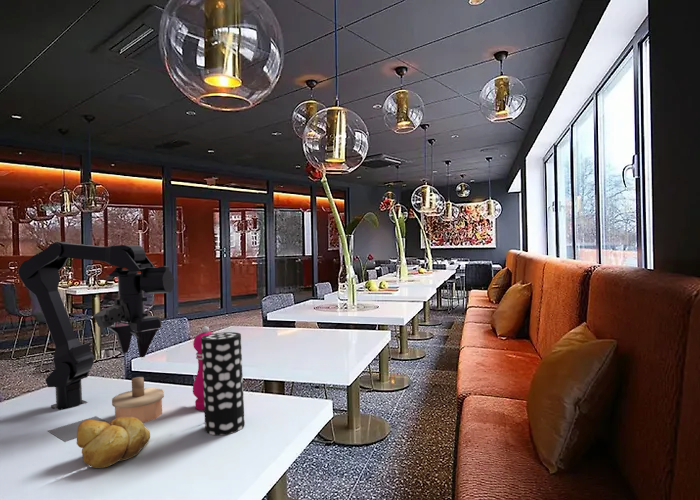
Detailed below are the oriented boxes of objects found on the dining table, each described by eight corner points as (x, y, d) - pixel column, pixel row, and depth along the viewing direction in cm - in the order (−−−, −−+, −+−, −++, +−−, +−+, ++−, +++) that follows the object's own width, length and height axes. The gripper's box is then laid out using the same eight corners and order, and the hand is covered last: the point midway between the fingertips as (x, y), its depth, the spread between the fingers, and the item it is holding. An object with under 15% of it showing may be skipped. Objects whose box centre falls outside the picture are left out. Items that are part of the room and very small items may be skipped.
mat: (47, 433, 99) (47, 430, 99) (96, 418, 106) (95, 416, 106) (65, 444, 92) (65, 441, 92) (115, 427, 100) (115, 425, 100)
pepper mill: (214, 411, 108) (211, 328, 108) (187, 410, 109) (184, 328, 109) (228, 401, 115) (225, 323, 115) (203, 400, 116) (199, 323, 116)
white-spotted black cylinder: (252, 422, 100) (248, 333, 100) (227, 437, 93) (223, 340, 92) (223, 418, 104) (219, 331, 103) (196, 432, 96) (192, 338, 96)
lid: (103, 402, 105) (102, 380, 105) (149, 389, 113) (148, 369, 113) (125, 411, 98) (124, 388, 98) (172, 397, 106) (171, 376, 106)
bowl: (108, 420, 105) (107, 402, 105) (149, 407, 112) (148, 390, 112) (128, 430, 99) (127, 410, 99) (170, 415, 106) (169, 397, 106)
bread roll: (140, 438, 94) (139, 400, 94) (164, 450, 88) (162, 410, 88) (72, 463, 84) (70, 420, 84) (93, 478, 78) (91, 432, 78)
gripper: (81, 295, 114) (84, 357, 114) (114, 299, 102) (117, 367, 102) (126, 291, 123) (128, 348, 123) (161, 294, 111) (163, 356, 111)
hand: (133, 354), depth 115 cm, fingers open, 9 cm apart
